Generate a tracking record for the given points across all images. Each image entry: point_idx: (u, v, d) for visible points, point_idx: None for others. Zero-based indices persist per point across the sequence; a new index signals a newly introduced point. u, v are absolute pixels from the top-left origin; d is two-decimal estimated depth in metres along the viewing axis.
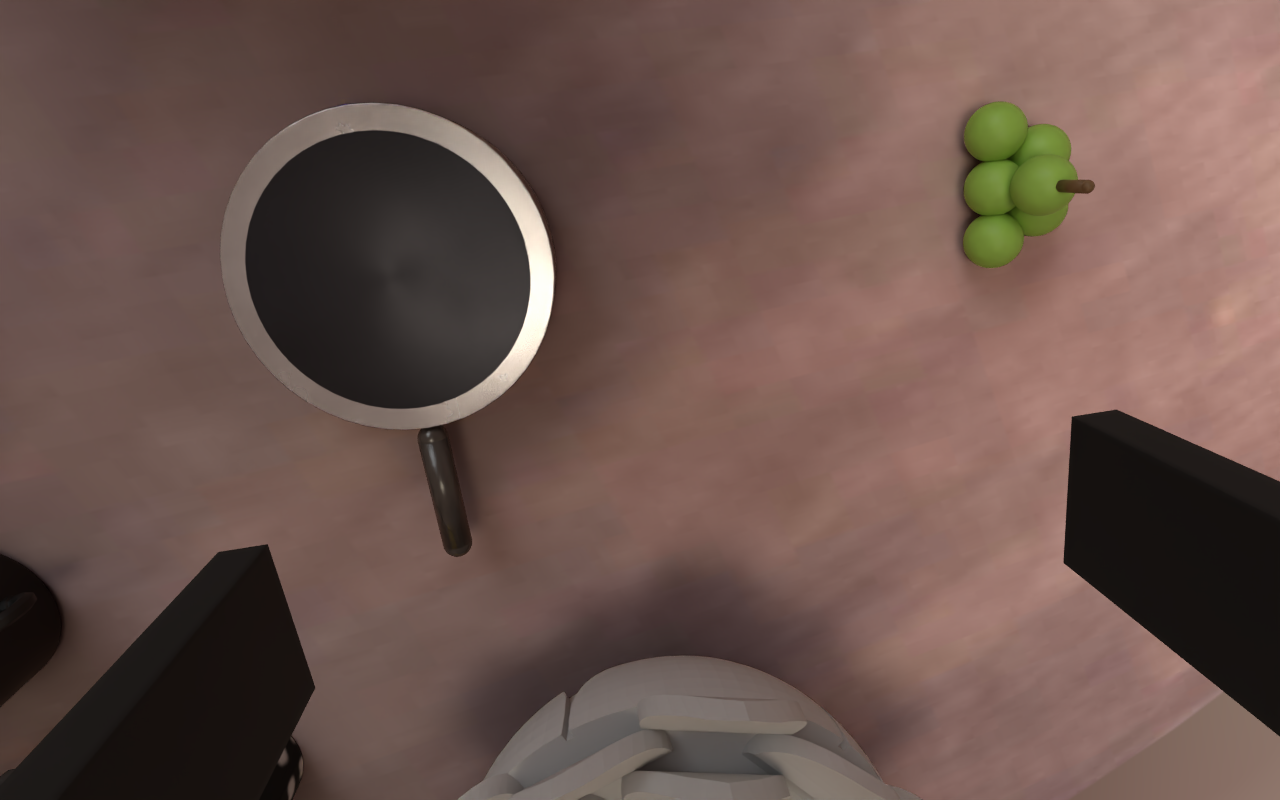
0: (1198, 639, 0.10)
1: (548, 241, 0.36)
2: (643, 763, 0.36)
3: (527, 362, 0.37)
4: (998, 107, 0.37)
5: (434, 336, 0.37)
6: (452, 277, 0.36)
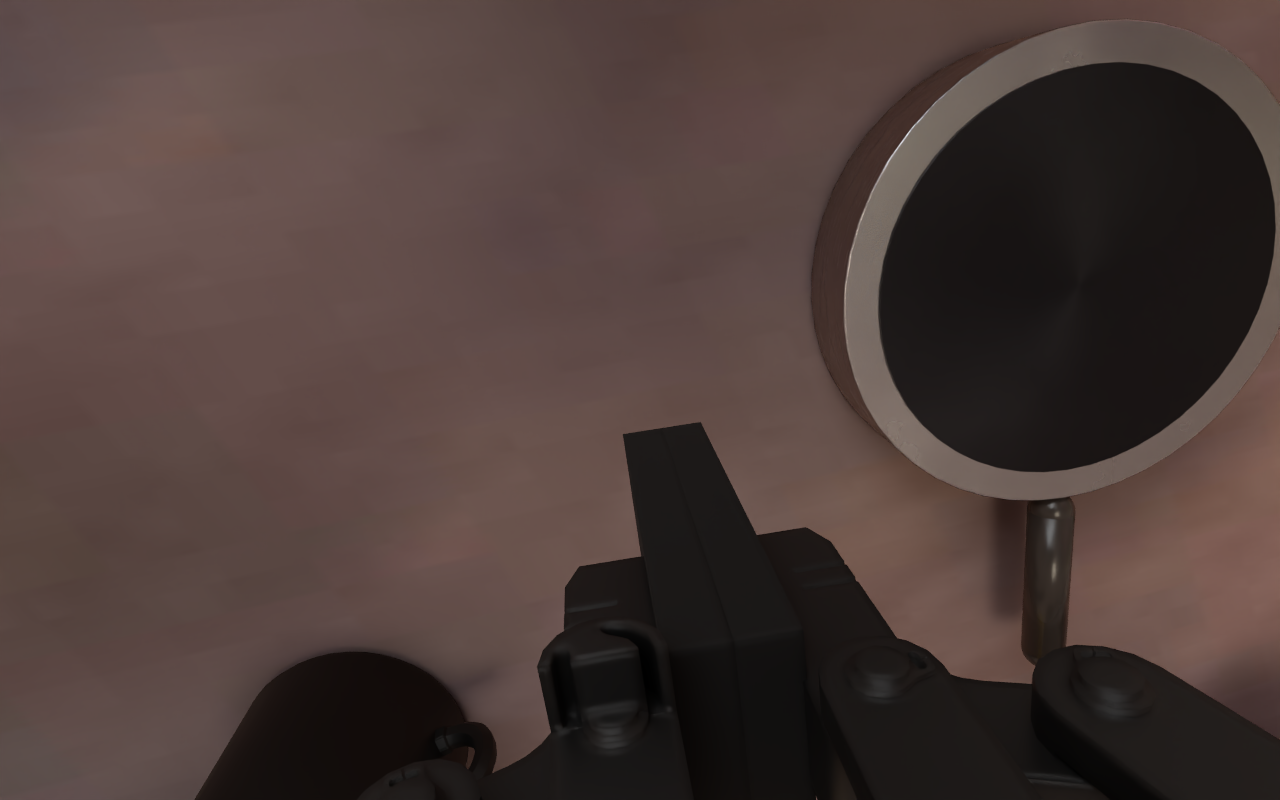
0: None
1: None
2: None
3: (1223, 405, 0.26)
4: None
5: (1110, 369, 0.25)
6: (1159, 285, 0.24)
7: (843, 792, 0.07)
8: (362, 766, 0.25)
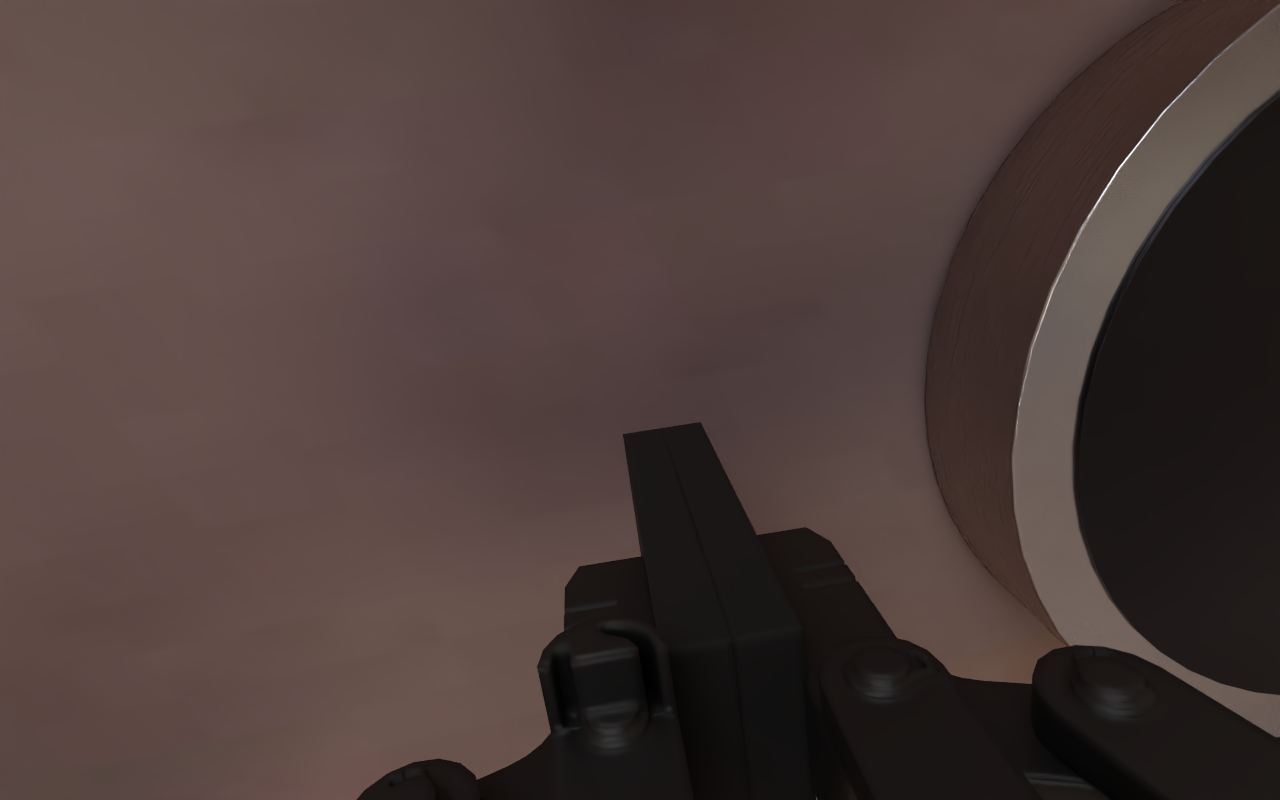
0: None
1: None
2: None
3: None
4: None
5: None
6: None
7: (843, 792, 0.07)
8: None
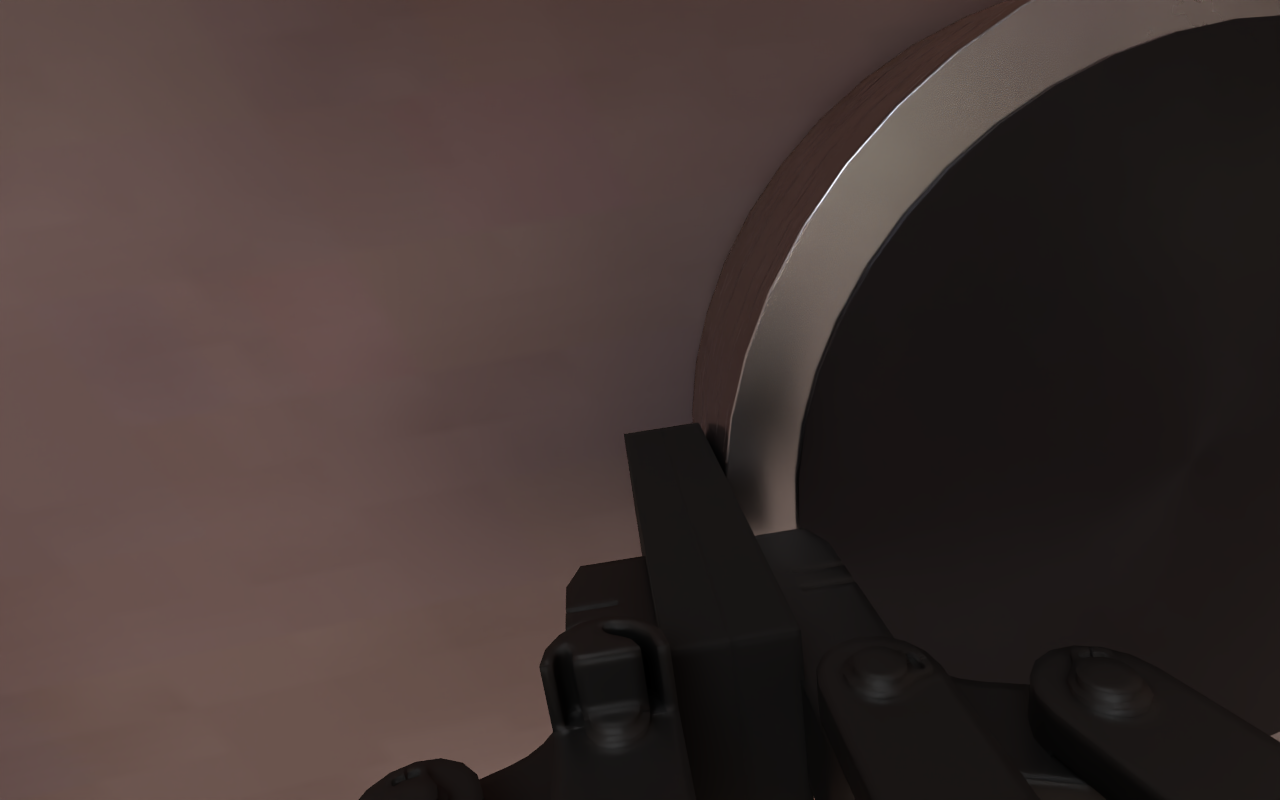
0: None
1: None
2: None
3: None
4: None
5: (1243, 604, 0.13)
6: None
7: (841, 793, 0.07)
8: None
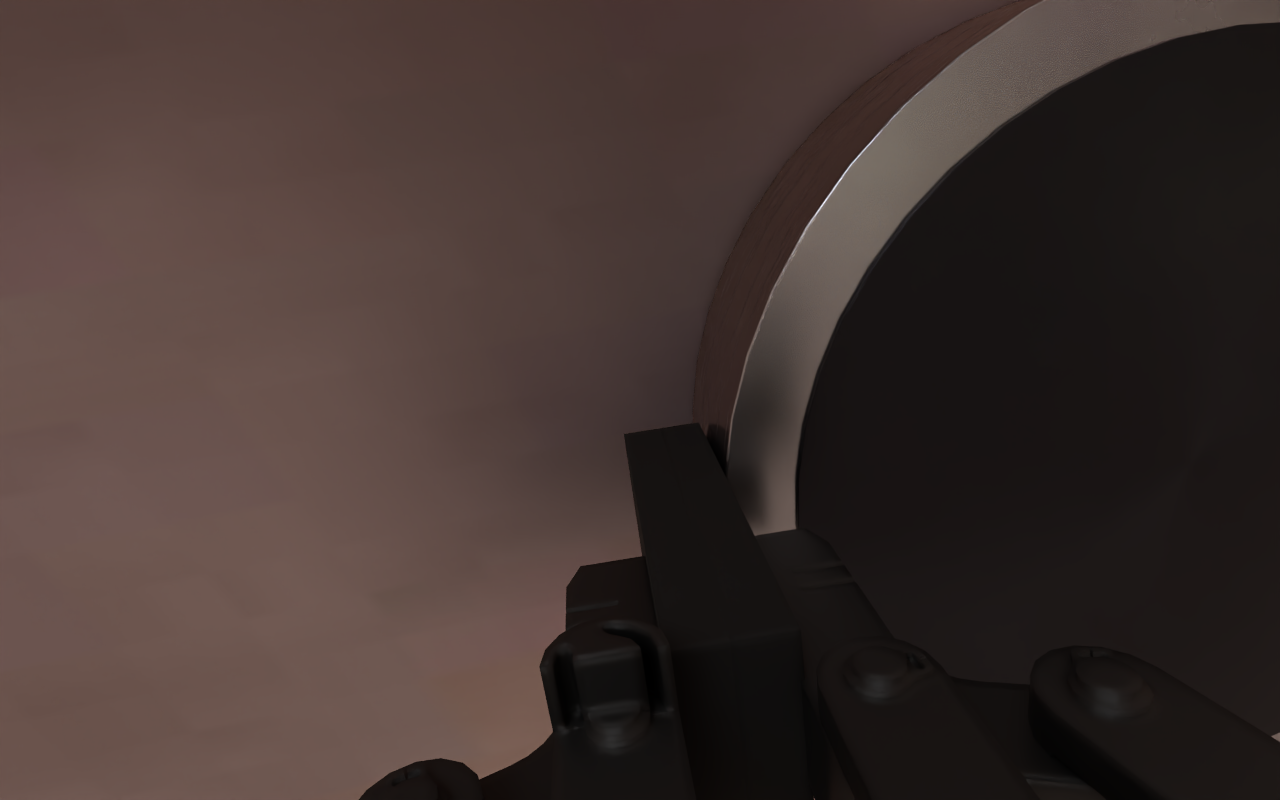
0: None
1: None
2: None
3: None
4: None
5: (1239, 608, 0.13)
6: None
7: (841, 792, 0.07)
8: None
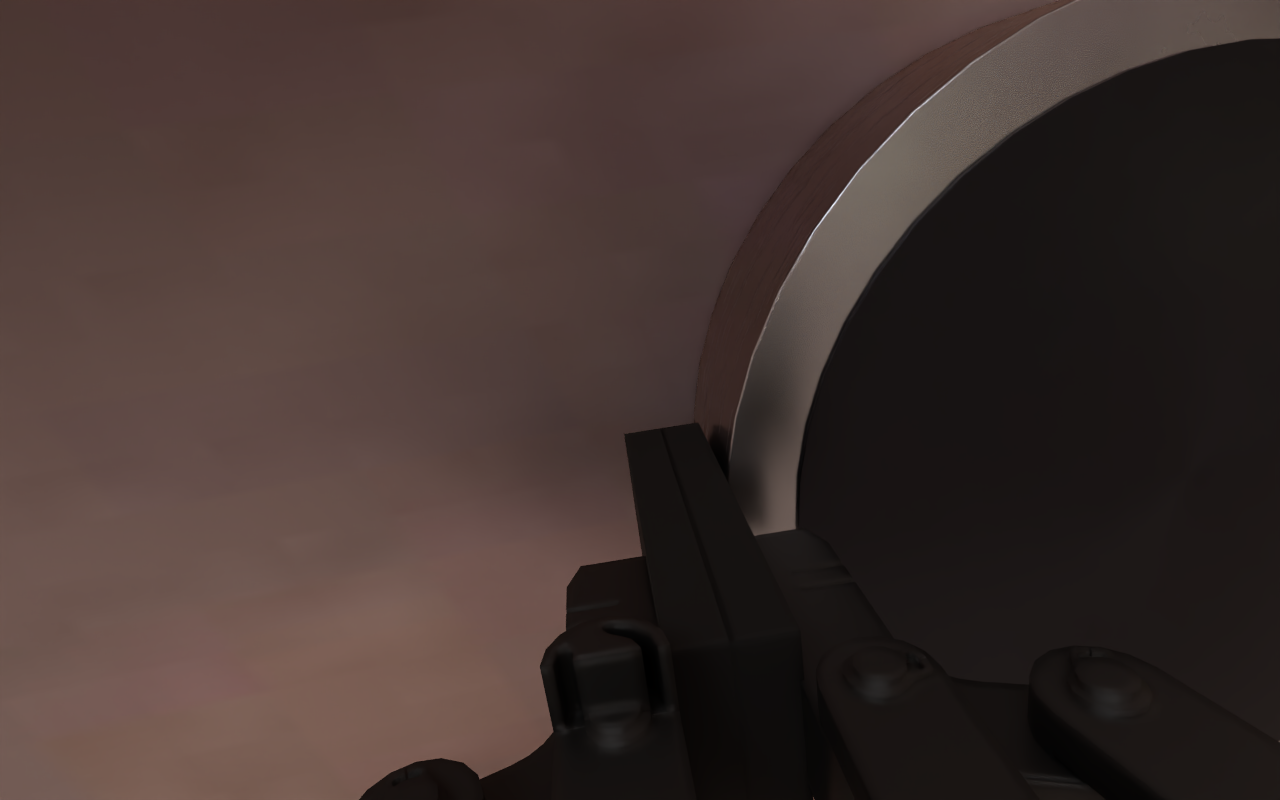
0: None
1: None
2: None
3: None
4: None
5: (1234, 620, 0.14)
6: None
7: (841, 792, 0.07)
8: None
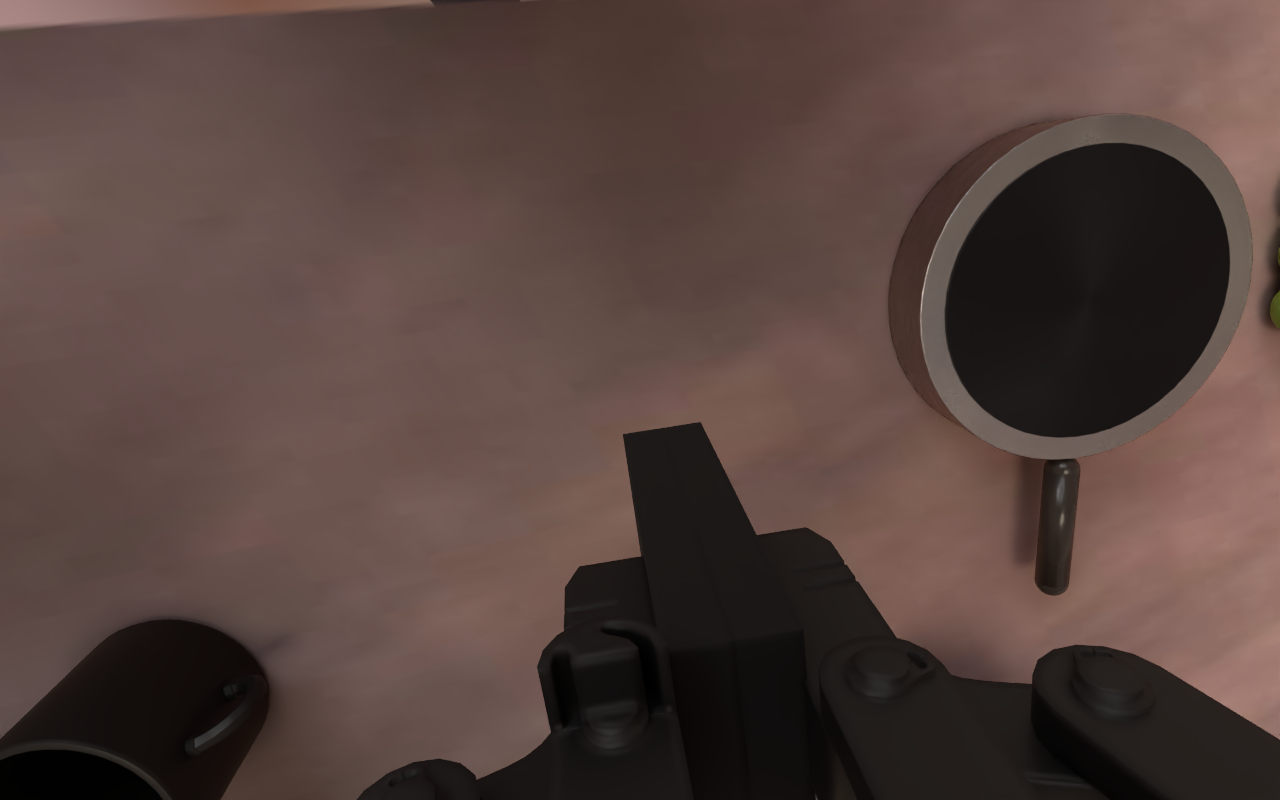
0: None
1: (1251, 268, 0.34)
2: None
3: (1191, 394, 0.35)
4: None
5: (1109, 362, 0.34)
6: (1146, 301, 0.34)
7: (843, 792, 0.07)
8: (147, 699, 0.32)
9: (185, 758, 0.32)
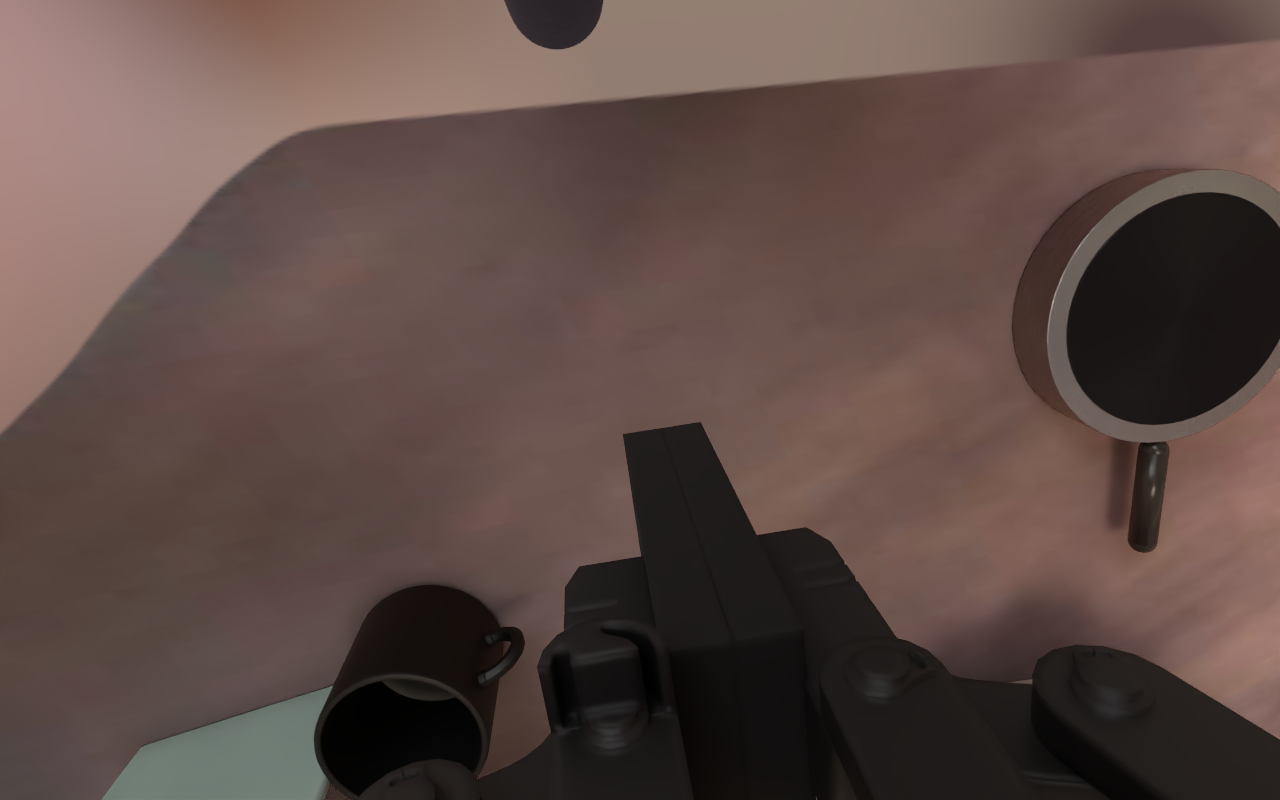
0: None
1: None
2: None
3: (1260, 387, 0.44)
4: None
5: (1196, 364, 0.43)
6: (1227, 315, 0.42)
7: (843, 792, 0.07)
8: (445, 644, 0.42)
9: (480, 688, 0.41)
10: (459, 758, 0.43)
